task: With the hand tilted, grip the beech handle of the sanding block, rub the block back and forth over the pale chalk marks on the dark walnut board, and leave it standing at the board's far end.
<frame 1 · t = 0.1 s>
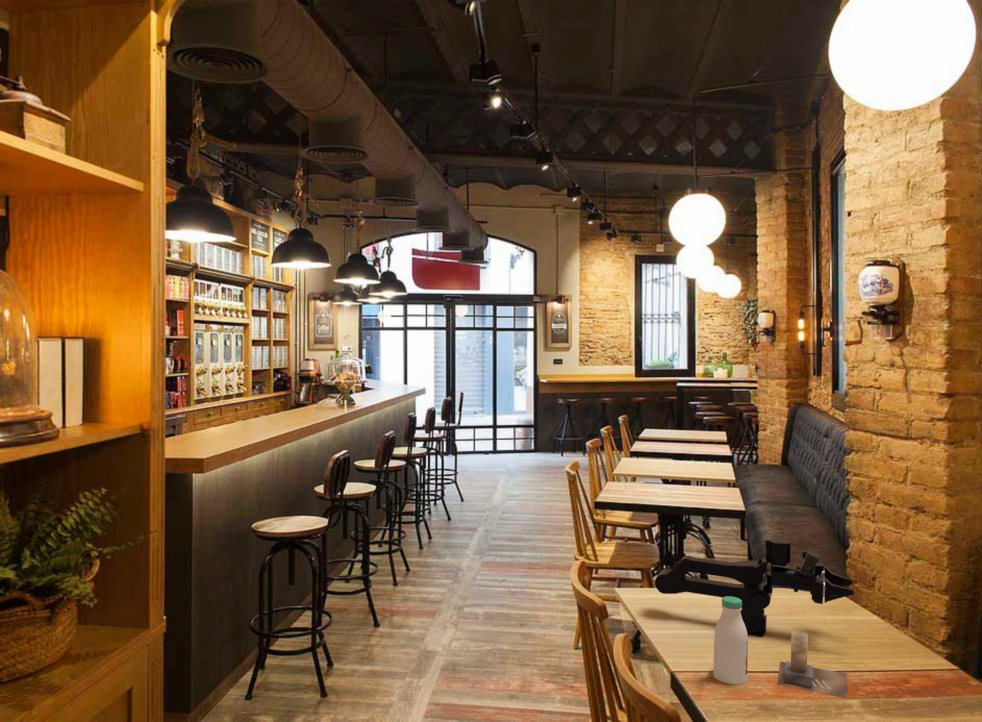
hand: (853, 587, 193), 17 cm above the table, tool horizontal, fingers open, 9 cm apart
milk bottle: (729, 682, 172), on the table
walnut board: (812, 683, 172), on the table
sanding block: (798, 679, 171), point 1 cm above the table, touching walnut board
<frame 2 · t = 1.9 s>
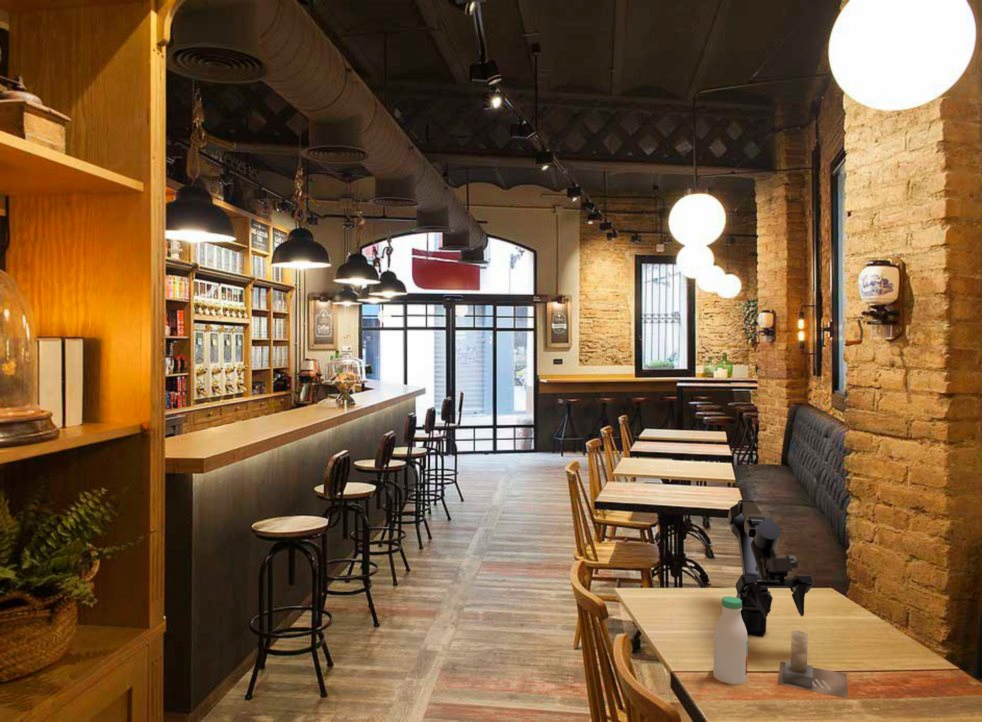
hand: (784, 615, 179), 14 cm above the table, tool tilted 45°, fingers open, 9 cm apart
nothing on the table moved.
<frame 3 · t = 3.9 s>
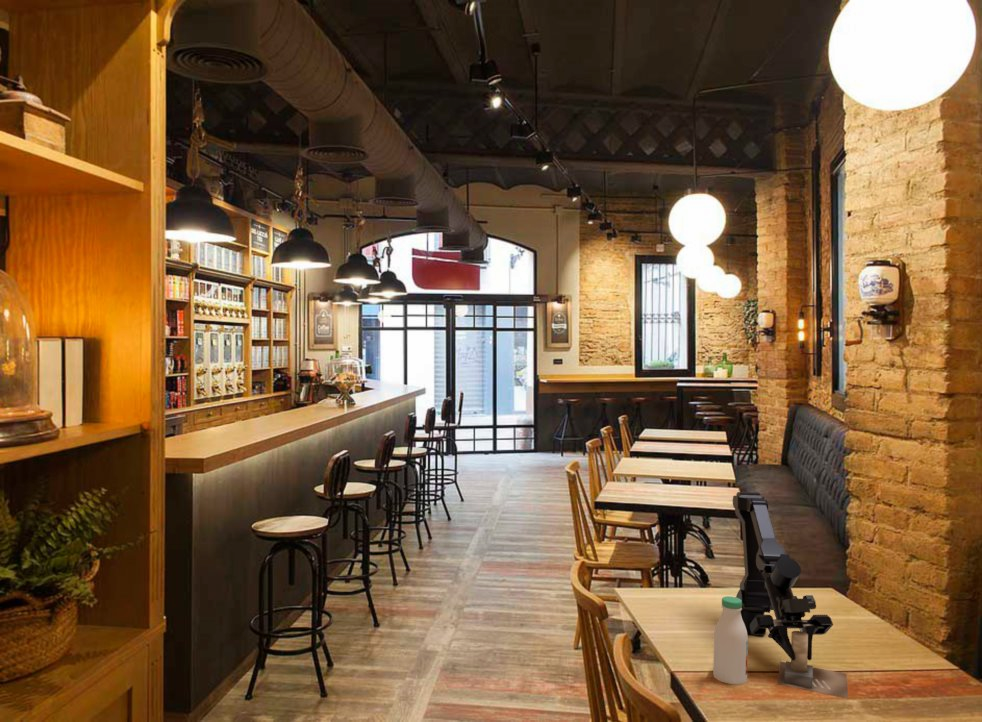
hand: (802, 659, 170), 7 cm above the table, tool tilted 45°, fingers closed on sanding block, 4 cm apart
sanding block: (798, 679, 171), point 1 cm above the table, touching gripper, walnut board
everything else where it was.
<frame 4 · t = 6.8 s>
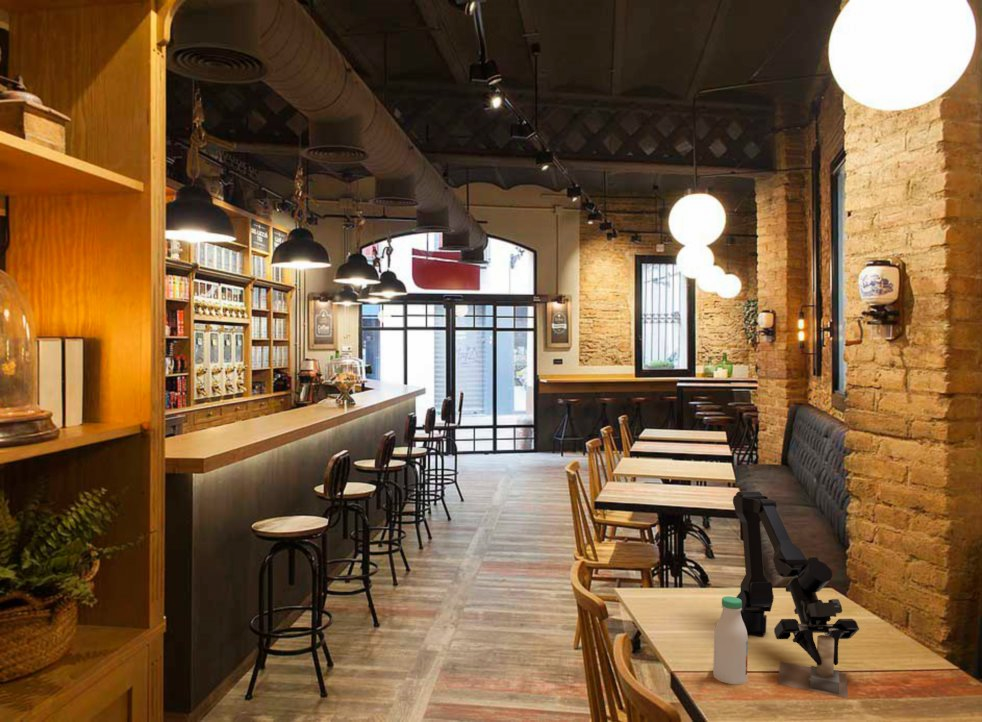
hand: (828, 664, 167), 7 cm above the table, tool tilted 45°, fingers closed on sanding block, 4 cm apart
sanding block: (824, 684, 169), point 1 cm above the table, touching gripper, walnut board
everything else where it was.
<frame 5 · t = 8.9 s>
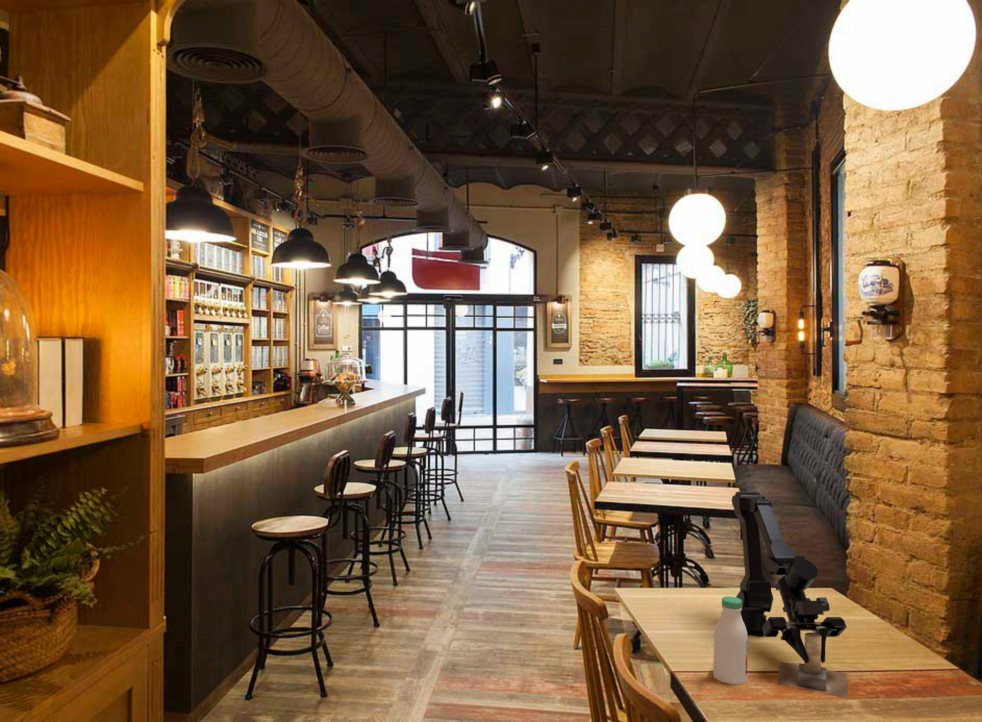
hand: (815, 662, 169), 7 cm above the table, tool tilted 45°, fingers closed on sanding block, 4 cm apart
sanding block: (812, 681, 170), point 1 cm above the table, touching gripper
everything else where it was.
when the fingers open (6 cm above the table, at t = 10.0 s): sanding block stays where it is, resting on walnut board.
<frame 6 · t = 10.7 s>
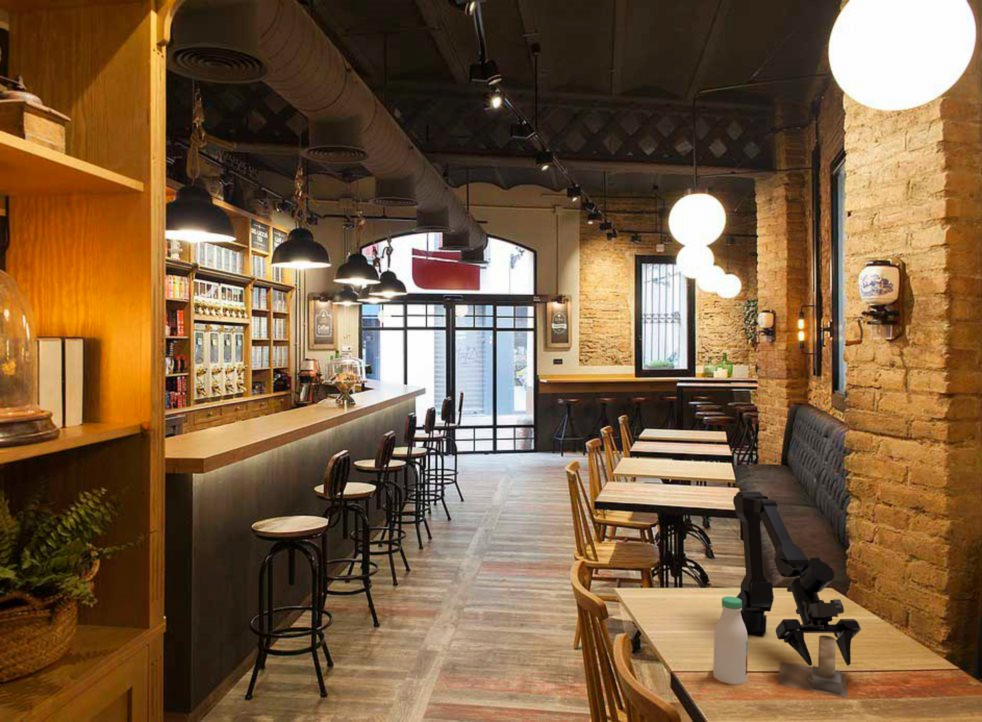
hand: (829, 664, 167), 7 cm above the table, tool tilted 45°, fingers open, 9 cm apart
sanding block: (826, 684, 169), point 1 cm above the table, touching walnut board
everything else where it was.
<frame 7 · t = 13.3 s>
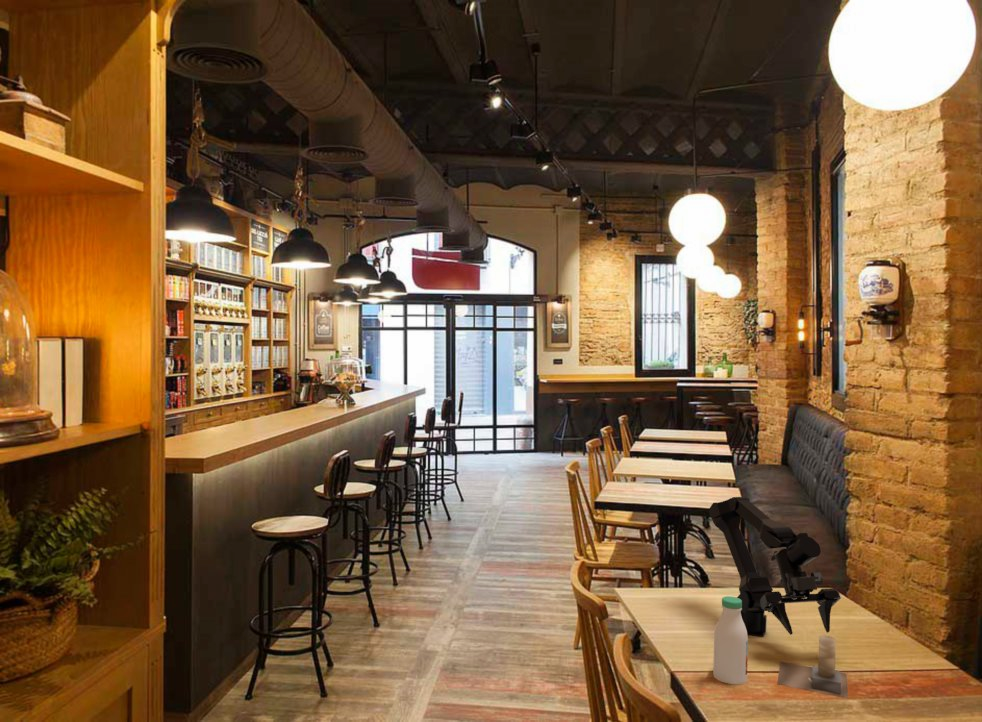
hand: (809, 633, 179), 10 cm above the table, tool tilted 40°, fingers open, 9 cm apart
nothing on the table moved.
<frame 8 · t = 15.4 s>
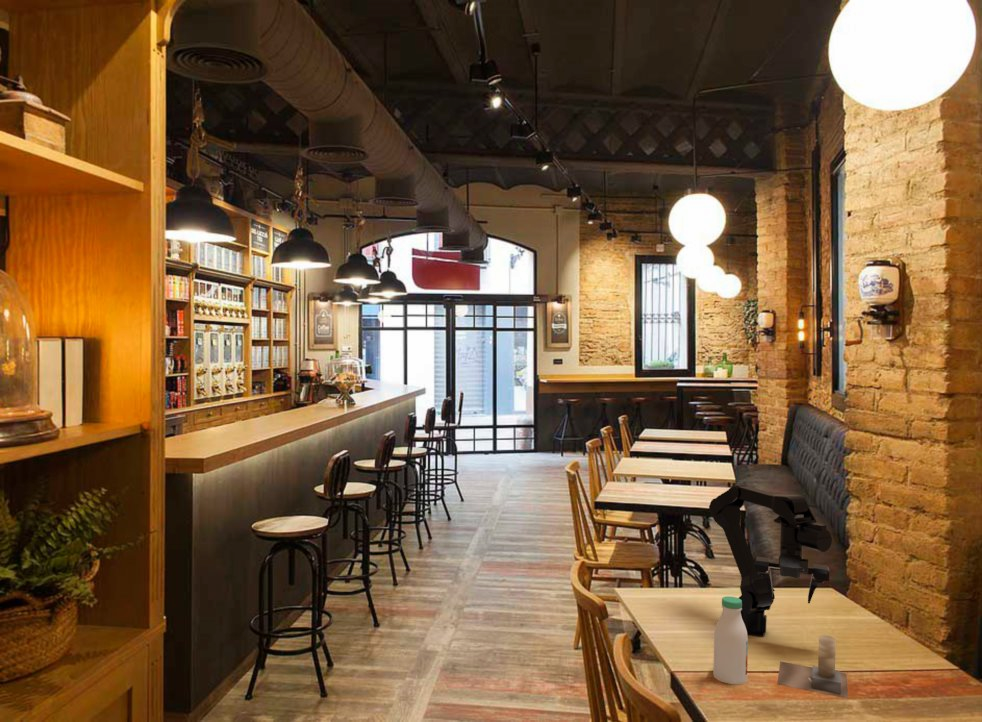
hand: (790, 600, 192), 13 cm above the table, tool pointing down, fingers open, 9 cm apart
nothing on the table moved.
at the end: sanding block 0.0 cm from the target spot on the walnut board, point 1.2 cm above the walnut board's base; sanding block tilted 0°; the gripper is holding nothing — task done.
